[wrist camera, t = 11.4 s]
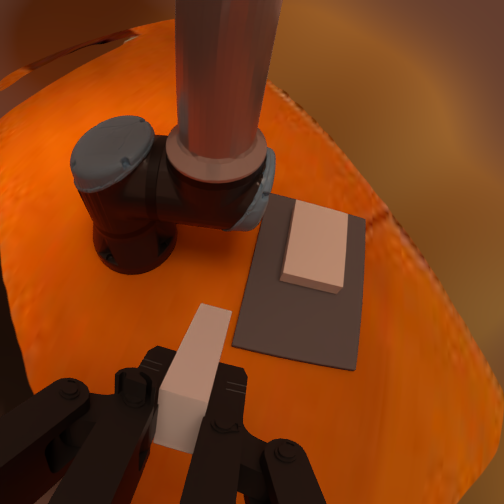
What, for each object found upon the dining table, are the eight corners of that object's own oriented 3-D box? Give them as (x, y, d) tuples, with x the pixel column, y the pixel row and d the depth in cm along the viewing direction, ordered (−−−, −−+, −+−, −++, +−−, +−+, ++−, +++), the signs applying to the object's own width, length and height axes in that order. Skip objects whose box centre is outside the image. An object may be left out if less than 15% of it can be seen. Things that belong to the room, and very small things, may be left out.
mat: (352, 370, 48) (355, 369, 48) (231, 346, 48) (232, 344, 48) (363, 221, 63) (365, 219, 63) (268, 195, 63) (269, 192, 62)
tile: (342, 287, 51) (347, 213, 58) (283, 272, 51) (296, 199, 58) (335, 294, 54) (341, 223, 61) (278, 281, 54) (292, 210, 61)
